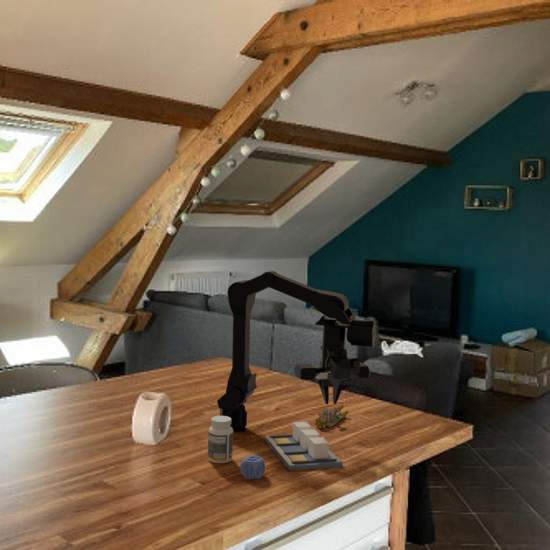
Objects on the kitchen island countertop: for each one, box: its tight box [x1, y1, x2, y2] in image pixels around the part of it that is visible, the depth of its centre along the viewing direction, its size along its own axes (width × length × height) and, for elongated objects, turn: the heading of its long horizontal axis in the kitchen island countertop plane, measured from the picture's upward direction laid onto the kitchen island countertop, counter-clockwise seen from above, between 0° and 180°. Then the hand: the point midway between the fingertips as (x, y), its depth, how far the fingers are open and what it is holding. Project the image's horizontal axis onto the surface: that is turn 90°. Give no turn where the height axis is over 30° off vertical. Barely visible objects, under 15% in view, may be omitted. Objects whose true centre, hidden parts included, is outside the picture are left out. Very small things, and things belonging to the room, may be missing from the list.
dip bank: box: [263, 433, 344, 472], centre depth 167 cm, size 13×21×1 cm, turn 17°
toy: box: [314, 404, 350, 429], centre depth 191 cm, size 5×5×15 cm
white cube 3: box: [292, 421, 312, 442], centre depth 173 cm, size 4×4×4 cm
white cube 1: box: [308, 436, 330, 459], centre depth 161 cm, size 4×4×4 cm
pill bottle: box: [207, 415, 234, 464], centre depth 159 cm, size 6×6×10 cm
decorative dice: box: [240, 455, 266, 480], centre depth 151 cm, size 4×4×4 cm
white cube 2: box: [300, 428, 320, 450], centre depth 167 cm, size 4×4×4 cm
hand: (330, 403), depth 174 cm, fingers closed
